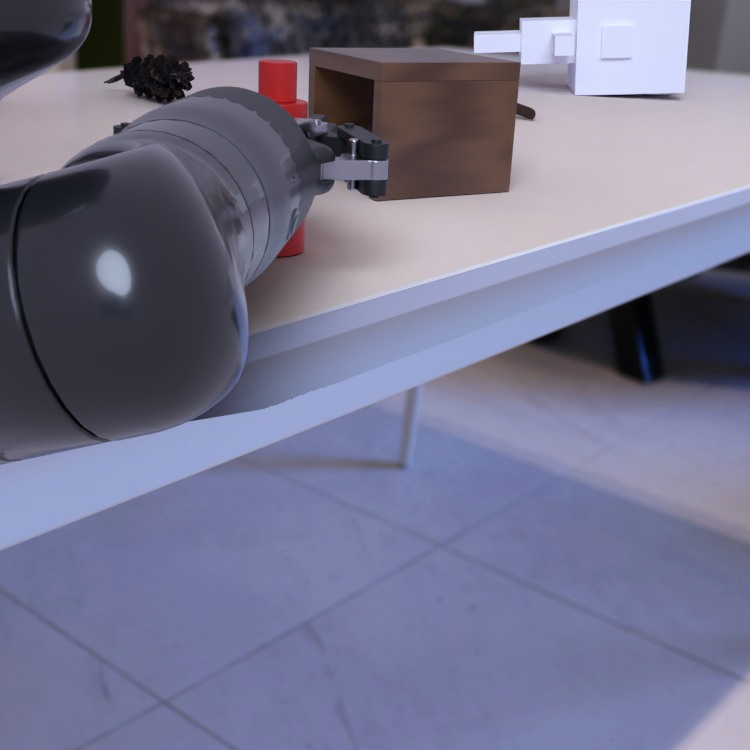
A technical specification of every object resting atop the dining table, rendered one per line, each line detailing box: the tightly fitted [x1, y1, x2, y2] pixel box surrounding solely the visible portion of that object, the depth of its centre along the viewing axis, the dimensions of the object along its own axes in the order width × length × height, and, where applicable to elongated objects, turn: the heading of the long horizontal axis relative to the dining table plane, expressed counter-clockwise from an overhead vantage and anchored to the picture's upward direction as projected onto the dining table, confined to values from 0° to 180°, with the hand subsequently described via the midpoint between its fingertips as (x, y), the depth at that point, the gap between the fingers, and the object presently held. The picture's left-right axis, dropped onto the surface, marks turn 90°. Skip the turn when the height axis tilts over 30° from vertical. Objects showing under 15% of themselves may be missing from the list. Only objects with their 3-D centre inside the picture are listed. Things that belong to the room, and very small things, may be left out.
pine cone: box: [103, 52, 196, 104], centre depth 114 cm, size 18×5×5 cm, turn 39°
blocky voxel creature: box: [473, 0, 692, 96], centre depth 142 cm, size 15×25×28 cm
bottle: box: [257, 58, 308, 258], centre depth 56 cm, size 3×3×10 cm
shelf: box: [307, 47, 522, 202], centre depth 76 cm, size 11×11×9 cm
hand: (286, 131), depth 58 cm, fingers closed on bottle, 3 cm apart
